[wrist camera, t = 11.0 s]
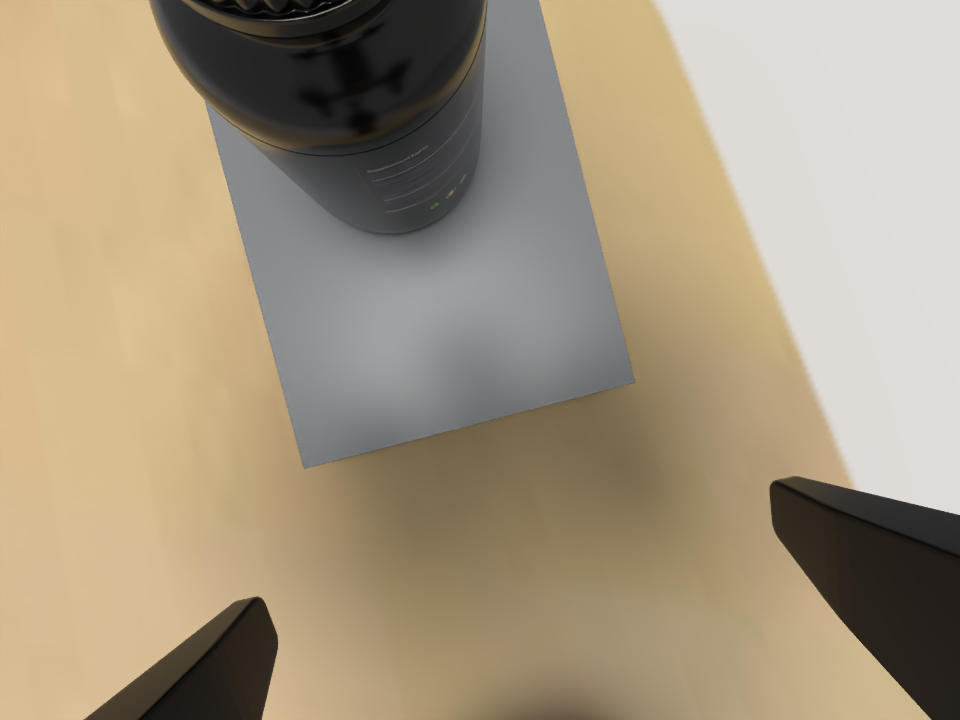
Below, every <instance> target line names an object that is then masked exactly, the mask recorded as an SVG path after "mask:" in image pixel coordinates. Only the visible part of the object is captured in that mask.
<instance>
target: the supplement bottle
mask: <svg viewBox="0 0 960 720" xmlns="http://www.w3.org/2000/svg"><path fill="white" fill-rule="evenodd" d="M149 3H150V7H151V10H152V13H153V16H154V19H155V22H156V25H157V28H158V30H159V32H160V35H161V37H162V39H163V41H164V44H165V46H166V47H167V49H168V51H169V53H170V55H171V56H172V58H173V60H174V62H175V63H176V65H177V66H178V68H179V69H180V71H181V72H182V74H183V75H184V76H185V78H186V79H187V80H188V81H189V83H190V84H191V85H192V86H193V87H194V89H195V90H196V91H197V92H198V93H199V94H200V95H201V96H202V97H203V98H204V99H205V100H206V102H207V103H208V104H209V105H210V106H211V107H212V108H213V109H214V110H215V111H216V112H217V113H218V114H220V115H221V116H222V117H223V118H224V119H225V120H226V121H227V122H228V123H229V124H230V125H232V126H233V127H234V128H235V129H236V130H237V131H238V132H239V133H240V134H241V135H243V136H244V137H245V138H246V139H247V140H248V141H249V142H250V143H251V144H252V145H254V146H255V147H256V148H257V149H258V150H259V151H260V152H261V153H262V154H264V155H265V156H266V157H267V158H268V159H269V160H270V161H271V162H272V163H273V164H275V165H276V166H277V167H278V168H279V169H280V170H281V171H282V172H283V173H285V174H286V175H287V176H288V177H289V178H290V179H291V180H292V181H293V182H294V183H296V184H297V185H298V186H299V187H300V188H301V189H302V190H303V191H304V192H306V193H307V194H308V195H309V196H310V197H311V198H312V199H313V200H314V201H315V202H317V203H318V204H319V205H320V206H322V207H323V208H324V209H325V210H326V211H328V212H329V213H330V214H331V215H333V216H334V217H336V218H337V219H339V220H341V221H342V222H344V223H346V224H348V225H350V226H353V227H355V228H357V229H361V230H364V231H368V232H373V233H381V234H396V233H404V232H409V231H413V230H416V229H419V228H422V227H424V226H427V225H429V224H431V223H432V222H434V221H436V220H437V219H439V218H440V217H442V216H443V215H445V214H446V213H447V212H448V211H449V210H450V209H451V208H452V207H453V206H454V205H455V204H456V203H457V202H458V201H459V200H460V198H461V197H462V196H463V194H464V193H465V191H466V190H467V188H468V186H469V184H470V182H471V180H472V178H473V175H474V173H475V169H476V166H477V162H478V158H479V152H480V142H481V130H482V109H483V88H484V67H485V46H486V24H487V0H149Z"/></svg>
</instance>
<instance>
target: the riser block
mask: <svg viewBox="0 0 960 720" xmlns="http://www.w3.org/2000/svg"><path fill="white" fill-rule="evenodd" d="M204 100H205V99H204ZM205 103H206V107H207V111H208V115H209V118H210V122H211V126H212V129H213V133H214V137H215V140H216V144H217V148H218V152H219V155H220V159H221V163H222V166H223V170H224V174H225V178H226V181H227V185H228V189H229V192H230V196H231V200H232V204H233V207H234V211H235V215H236V218H237V222H238V226H239V230H240V233H241V237H242V241H243V244H244V248H245V252H246V255H247V259H248V263H249V267H250V270H251V274H252V278H253V281H254V285H255V289H256V293H257V296H258V300H259V304H260V307H261V311H262V315H263V319H264V322H265V326H266V330H267V333H268V337H269V341H270V345H271V348H272V352H273V356H274V359H275V363H276V367H277V370H278V374H279V378H280V382H281V385H282V389H283V393H284V396H285V400H286V404H287V408H288V411H289V415H290V419H291V422H292V426H293V430H294V434H295V437H296V441H297V445H298V448H299V452H300V456H301V460H302V463H303V467H304V469H306V468H310V467H313V466H317V465H321V464H325V463H329V462H333V461H336V460H340V459H344V458H348V457H352V456H356V455H359V454H363V453H367V452H371V451H375V450H379V449H382V448H386V447H390V446H394V445H398V444H402V443H405V442H409V441H413V440H417V439H421V438H425V437H428V436H432V435H436V434H440V433H444V432H448V431H451V430H455V429H459V428H463V427H467V426H471V425H474V424H478V423H482V422H486V421H490V420H494V419H497V418H501V417H505V416H509V415H513V414H517V413H520V412H524V411H528V410H532V409H536V408H540V407H543V406H547V405H551V404H555V403H559V402H563V401H566V400H570V399H574V398H578V397H582V396H586V395H589V394H593V393H597V392H601V391H605V390H609V389H612V388H616V387H620V386H624V385H628V384H632V383H635V379H634V375H633V372H632V368H631V364H630V360H629V356H628V352H627V348H626V344H625V340H624V336H623V332H622V328H621V324H620V320H619V316H618V312H617V308H616V304H615V300H614V296H613V292H612V288H611V284H610V280H609V276H608V272H607V268H606V265H605V261H604V257H603V253H602V249H601V245H600V241H599V237H598V233H597V229H596V225H595V221H594V217H593V213H592V209H591V205H590V201H589V197H588V193H587V189H586V185H585V181H584V177H583V173H582V169H581V165H580V162H579V158H578V154H577V150H576V146H575V142H574V138H573V134H572V130H571V126H570V122H569V118H568V114H567V110H566V106H565V102H564V98H563V94H562V90H561V86H560V82H559V78H558V74H557V70H556V66H555V62H554V58H553V55H552V51H551V47H550V43H549V39H548V35H547V31H546V27H545V23H544V19H543V15H542V11H541V7H540V3H539V0H487V24H486V46H485V67H484V88H483V109H482V130H481V142H480V152H479V158H478V162H477V166H476V169H475V173H474V175H473V178H472V180H471V182H470V184H469V186H468V188H467V190H466V191H465V193H464V194H463V196H462V197H461V198H460V200H459V201H458V202H457V203H456V204H455V205H454V206H453V207H452V208H451V209H450V210H449V211H448V212H447V213H446V214H445V215H443V216H442V217H440V218H439V219H437V220H436V221H434V222H432V223H431V224H429V225H427V226H424V227H422V228H419V229H416V230H413V231H409V232H404V233H396V234H381V233H373V232H368V231H364V230H361V229H357V228H355V227H353V226H350V225H348V224H346V223H344V222H342V221H341V220H339V219H337V218H336V217H334V216H333V215H331V214H330V213H329V212H328V211H326V210H325V209H324V208H323V207H322V206H320V205H319V204H318V203H317V202H315V201H314V200H313V199H312V198H311V197H310V196H309V195H308V194H307V193H306V192H304V191H303V190H302V189H301V188H300V187H299V186H298V185H297V184H296V183H294V182H293V181H292V180H291V179H290V178H289V177H288V176H287V175H286V174H285V173H283V172H282V171H281V170H280V169H279V168H278V167H277V166H276V165H275V164H273V163H272V162H271V161H270V160H269V159H268V158H267V157H266V156H265V155H264V154H262V153H261V152H260V151H259V150H258V149H257V148H256V147H255V146H254V145H252V144H251V143H250V142H249V141H248V140H247V139H246V138H245V137H244V136H243V135H241V134H240V133H239V132H238V131H237V130H236V129H235V128H234V127H233V126H232V125H230V124H229V123H228V122H227V121H226V120H225V119H224V118H223V117H222V116H221V115H220V114H218V113H217V112H216V111H215V110H214V109H213V108H212V107H211V106H210V105H209V104H208V103H207V102H206V100H205Z"/></svg>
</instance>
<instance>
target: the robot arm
mask: <svg viewBox="0 0 960 720" xmlns="http://www.w3.org/2000/svg"><path fill="white" fill-rule="evenodd" d="M770 503H771V515H772V524H773V528H774V531H775V533H776V535H777V537H778V538H779V540H780V541H781V542H782V543H783V545H784V546H785V547H786V549H787V550H788V551H789V553H790V554H791V555H792V557H793V558H794V559H795V561H796V562H797V563H798V565H799V566H800V567H801V569H802V570H803V571H804V573H805V574H806V575H807V577H808V578H809V579H810V580H811V582H812V583H813V584H814V586H815V587H816V588H817V590H818V591H819V592H820V594H821V595H822V596H823V598H824V599H825V600H826V602H827V603H828V604H829V606H830V607H831V608H832V609H833V610H834V612H835V613H836V614H837V615H838V617H839V618H840V619H841V620H842V621H843V623H844V624H845V625H846V626H847V627H848V628H849V629H850V631H851V632H852V633H853V634H854V635H855V636H856V637H857V638H858V639H859V641H860V642H861V643H862V644H863V645H864V646H865V647H866V648H867V649H868V650H869V652H870V653H871V654H872V655H873V656H874V657H875V658H876V659H877V660H878V661H879V663H880V664H881V665H882V666H883V667H884V668H885V669H886V670H887V671H888V672H889V674H890V675H891V676H892V677H893V678H894V679H895V680H896V681H897V682H898V683H899V685H900V686H901V687H902V688H903V689H904V690H905V691H906V692H907V693H908V694H909V695H910V697H911V698H912V699H913V700H914V701H915V702H916V703H917V704H918V705H919V706H920V708H921V709H922V710H923V711H924V712H925V713H926V714H927V715H928V716H929V717H930V719H931V720H960V515H957V514H953V513H948V512H944V511H940V510H936V509H932V508H927V507H923V506H919V505H915V504H911V503H907V502H902V501H898V500H894V499H890V498H886V497H881V496H877V495H873V494H869V493H865V492H861V491H856V490H852V489H848V488H844V487H840V486H836V485H831V484H827V483H823V482H819V481H815V480H811V479H806V478H802V477H797V476H792V477H788V478H784V479H779V480H775V481H773V482H772V483H771V484H770ZM277 650H278V636H277V632H276V630H275V627H274V625H273V622H272V619H271V617H270V614H269V612H268V609H267V606H266V604H265V602H264V600H263V599H262V598H260V597H252V598H247V599H243V600H238V601H236V602H234V603H232V604H231V605H230V606H229V607H227V608H226V609H225V610H224V611H222V612H221V613H220V614H218V615H217V616H216V617H215V618H213V619H212V620H211V621H209V622H208V623H207V624H206V625H204V626H203V627H202V628H200V629H199V630H198V631H197V632H195V633H194V634H193V635H192V636H190V637H189V638H188V639H186V640H185V641H184V642H183V643H181V644H180V645H179V646H177V647H176V648H175V649H174V650H172V651H171V652H170V653H168V654H167V655H166V656H165V657H163V658H162V659H161V660H160V661H158V662H157V663H156V664H154V665H153V666H152V667H151V668H149V669H148V670H147V671H145V672H144V673H143V674H142V675H140V676H139V677H138V678H136V679H135V680H134V681H133V682H131V683H130V684H129V685H128V686H126V687H125V688H124V689H122V690H121V691H120V692H119V693H117V694H116V695H115V696H113V697H112V698H111V699H110V700H108V701H107V702H106V703H104V704H103V705H102V706H101V707H99V708H98V709H97V710H96V711H94V712H93V713H92V714H90V715H89V716H88V717H87V718H85V719H84V720H262V716H263V711H264V707H265V703H266V698H267V694H268V690H269V685H270V681H271V677H272V672H273V668H274V664H275V659H276V655H277Z"/></svg>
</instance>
